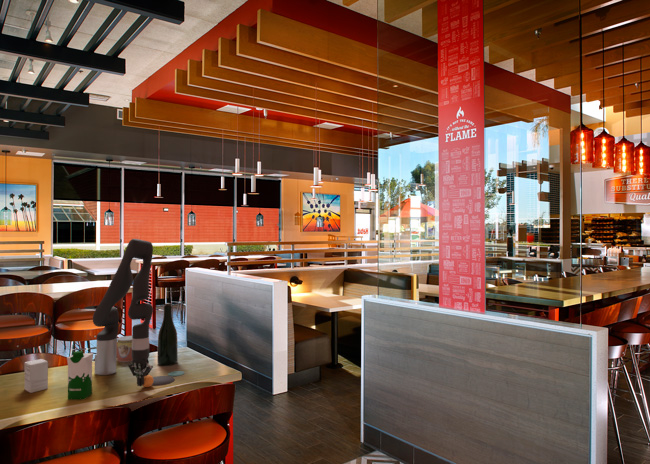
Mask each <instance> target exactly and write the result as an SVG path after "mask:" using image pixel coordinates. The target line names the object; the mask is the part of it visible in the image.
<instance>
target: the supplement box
mask: <svg viewBox="0 0 650 464" xmlns="http://www.w3.org/2000/svg"><path fill="white" fill-rule="evenodd" d="M48 367H49V362H48V360H45V359H43V358H40V359H39V358H38V359H34V360H28V361H25V362H24V391H26V392H28V393H30V394H31V393H36V392H39V391H43V390H48V389H49V368H48Z"/></svg>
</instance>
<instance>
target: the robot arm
mask: <svg viewBox="0 0 650 464" xmlns="http://www.w3.org/2000/svg"><path fill="white" fill-rule="evenodd" d="M153 245H154V244H153V243H152V241H151V242H150V241H148V240H145V239H143V240H142V239H138V238H132V239H130V240H129V242H128V244H127V246H126V248H125V250H124V253H123V255H122V259H121V261H120V264H119V266H118V268H117V270H116V272H115V273H114V276H113V277H112V280H111V281H110V284H109V286H108V288H107V290H106V292H105V294H103V295H104V296H103V298H102V299H101V301H100V303H99V304H98V306H97V307H96V308H95V311H94V313H93V314H92V323H93V324H94V326H96V327H99V328H100V327H101V328H102V327H104V328H103V329H102V330H101V331H100V332H98V333H97V334H96V354H95V355H94V374H95V375H97V376H108V375H112V374H115V373H116V372H117V362H118V361H117V339H118V338H117V335H118V333H119V322H120V314H119V310H118V309H117V307H115V305H116V304H117V303H118V302H120V300H121V299H123V298H124V297H125V296H126V295H127V294H128V292H129V290H130V289H131V287H132V295H131V298H132V299H131V300H130V304H129V307H128V311H127V316H128V318H129V319H130V320H144V321H142V322H141V323H136V324H134V325H133V326H132V331H131V336H132V359H133V360H132V361H131V363H130V364H128V365H127V366H128V368H129V370H130V372H131V374H132V376H133V377H136V384H137V386H138V387H143V386H142V385H143V384H144V377H145V376H148V375H150V373H151V371H152V370H153V368H154V367H153V365H151V364H150V361H149V358H150V337H149V336H150V324H151V323H150V322H151V320H152V317H153V314H154V308H153V307H154V306H153V305H152V303H148V302H147V303H139V302H142V301H146V300H147V299H148V298H149V296H150V294H149V293H150V285H149V284H150V283H149V282H150V273H151V267H152V261H153V254H154V246H153ZM133 259H138V260H142V266H141V268H140V269H139V271H138V272H137V274H136V275H135V277H133V276H134V275H133V272H132V267H131V264H132V260H133Z"/></svg>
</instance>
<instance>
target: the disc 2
mask: <svg viewBox="0 0 650 464" xmlns="http://www.w3.org/2000/svg"><path fill="white" fill-rule="evenodd" d="M183 375H185V371H182V370H175V371H170V372H168V373H167V376H171V377H179V376H183Z"/></svg>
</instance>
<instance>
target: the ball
mask: <svg viewBox="0 0 650 464" xmlns="http://www.w3.org/2000/svg"><path fill="white" fill-rule="evenodd" d="M153 377H154V376H152V375H150V374H148V376H145V377H144V384H143V385H142V386H141V387H143V388H150V387H152V386H151V385H152V384H153V381H154V379H153Z"/></svg>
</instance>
